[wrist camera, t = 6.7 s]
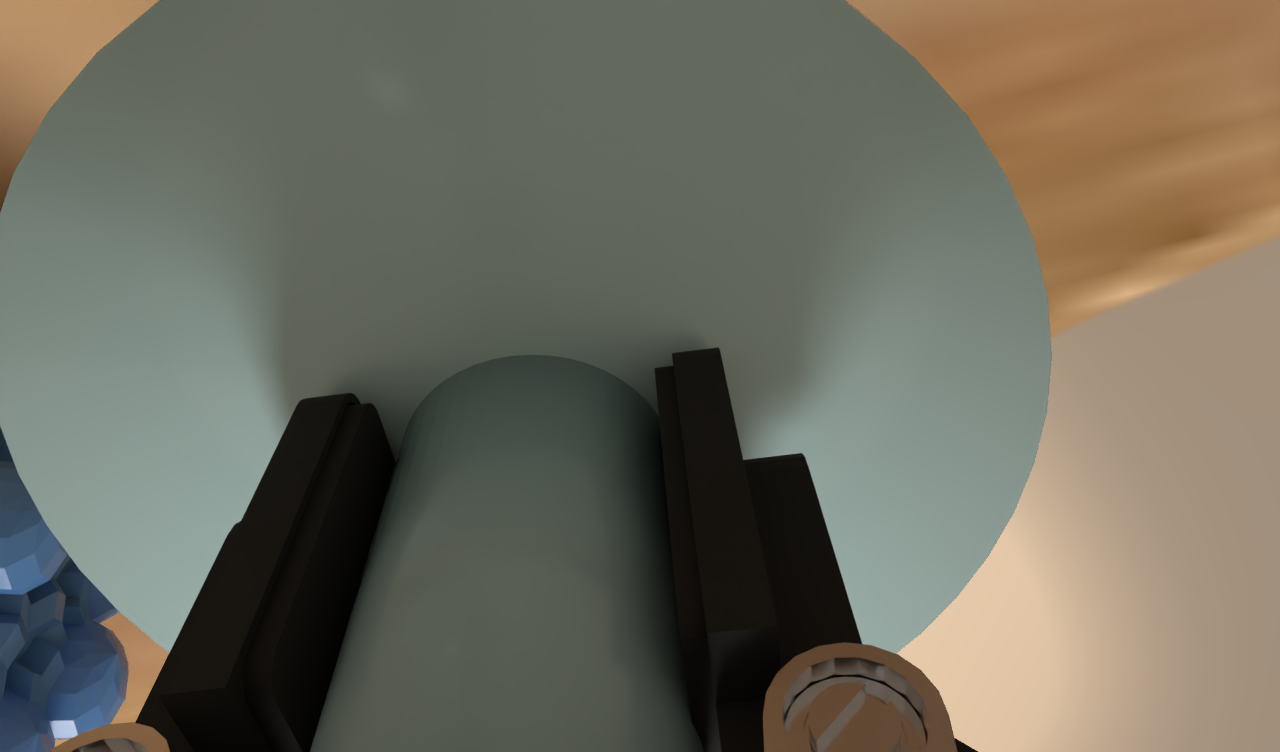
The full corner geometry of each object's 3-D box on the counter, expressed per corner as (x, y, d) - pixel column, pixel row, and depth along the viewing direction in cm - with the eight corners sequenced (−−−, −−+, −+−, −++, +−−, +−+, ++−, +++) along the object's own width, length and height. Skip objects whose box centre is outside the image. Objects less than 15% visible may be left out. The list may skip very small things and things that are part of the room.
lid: (-189, -27, 9) (-1375, 265, 3) (1082, -196, 8) (1897, -153, 3) (252, 737, 15) (73, 1231, 10) (967, 662, 15) (1164, 1135, 10)
